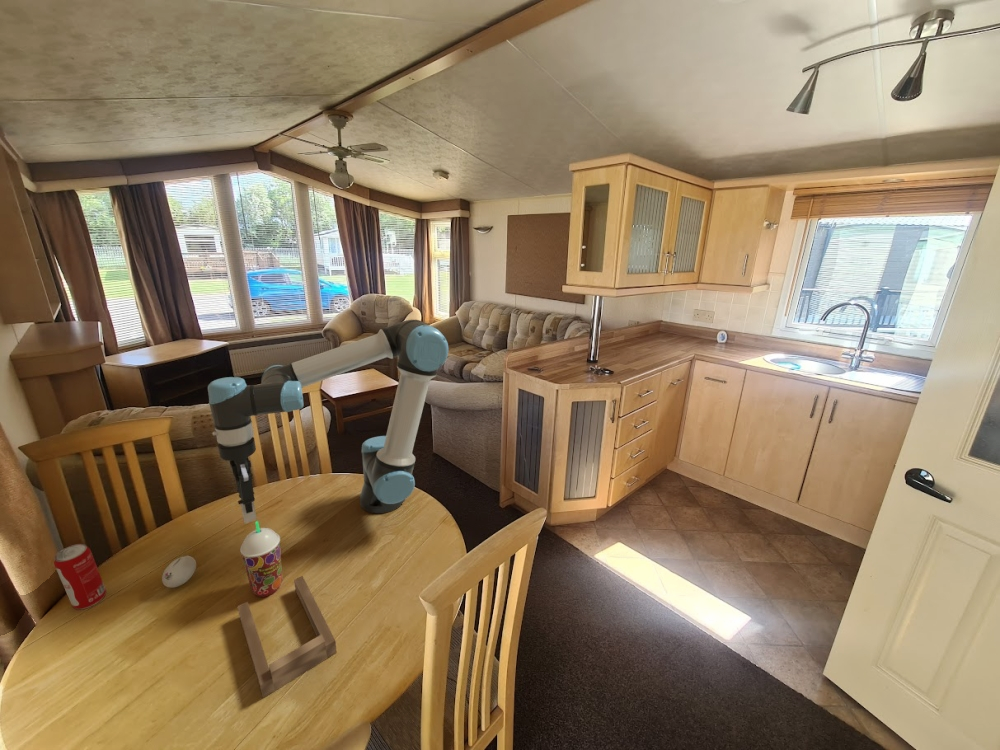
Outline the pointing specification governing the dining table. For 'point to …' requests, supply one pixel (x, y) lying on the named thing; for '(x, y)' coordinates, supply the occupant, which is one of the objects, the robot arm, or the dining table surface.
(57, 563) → the beverage can
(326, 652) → the u rest
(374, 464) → the robot arm
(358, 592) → the dining table surface
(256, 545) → the smoothie
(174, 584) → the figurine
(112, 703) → the dining table surface
